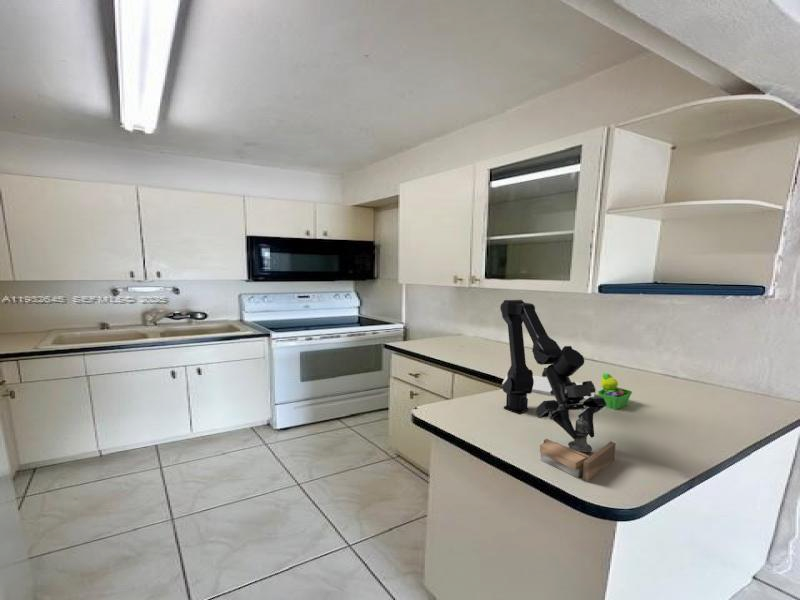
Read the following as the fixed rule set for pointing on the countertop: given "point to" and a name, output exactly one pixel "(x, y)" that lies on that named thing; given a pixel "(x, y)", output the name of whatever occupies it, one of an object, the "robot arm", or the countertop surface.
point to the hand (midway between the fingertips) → (584, 437)
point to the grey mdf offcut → (562, 466)
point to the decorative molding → (547, 387)
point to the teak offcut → (562, 455)
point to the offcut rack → (594, 460)
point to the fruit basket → (613, 392)
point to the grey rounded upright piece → (581, 438)
